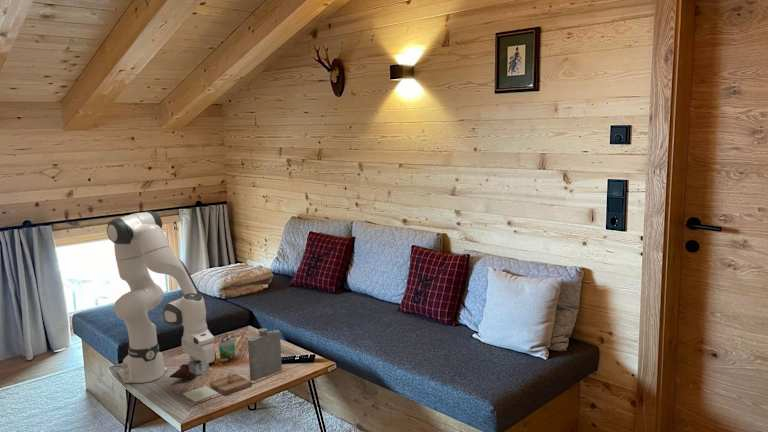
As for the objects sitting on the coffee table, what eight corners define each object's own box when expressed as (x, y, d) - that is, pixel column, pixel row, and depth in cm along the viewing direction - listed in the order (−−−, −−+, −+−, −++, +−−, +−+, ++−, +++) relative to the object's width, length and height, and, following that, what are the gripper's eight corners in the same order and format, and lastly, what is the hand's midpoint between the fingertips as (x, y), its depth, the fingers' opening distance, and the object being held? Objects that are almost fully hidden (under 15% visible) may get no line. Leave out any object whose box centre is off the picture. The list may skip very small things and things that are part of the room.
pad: (183, 394, 242) (183, 393, 242) (205, 386, 249) (205, 385, 249) (195, 402, 235) (195, 401, 235) (218, 393, 242) (218, 392, 242)
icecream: (175, 373, 247) (207, 364, 259) (166, 364, 251) (197, 356, 263) (173, 388, 249) (204, 379, 260) (164, 379, 253) (195, 370, 265)
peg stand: (210, 387, 248) (209, 373, 247) (235, 378, 256) (235, 364, 256) (225, 395, 240) (224, 381, 239) (251, 386, 248) (250, 372, 247)
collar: (189, 371, 240) (188, 361, 239) (202, 367, 244) (201, 357, 243) (196, 375, 236) (195, 365, 236) (209, 370, 240) (208, 361, 239)
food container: (233, 363, 272) (232, 342, 270) (219, 364, 272) (218, 342, 270) (240, 353, 284) (238, 333, 283) (227, 353, 284) (225, 333, 283)
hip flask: (253, 381, 253) (250, 335, 250) (247, 378, 256) (244, 333, 252) (283, 369, 264) (281, 325, 261) (277, 366, 267) (275, 323, 264)
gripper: (176, 331, 243) (179, 363, 245) (201, 342, 229) (204, 377, 231) (190, 326, 247) (193, 359, 249) (216, 337, 233) (219, 371, 235)
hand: (199, 367), depth 240 cm, fingers closed on collar, 6 cm apart
